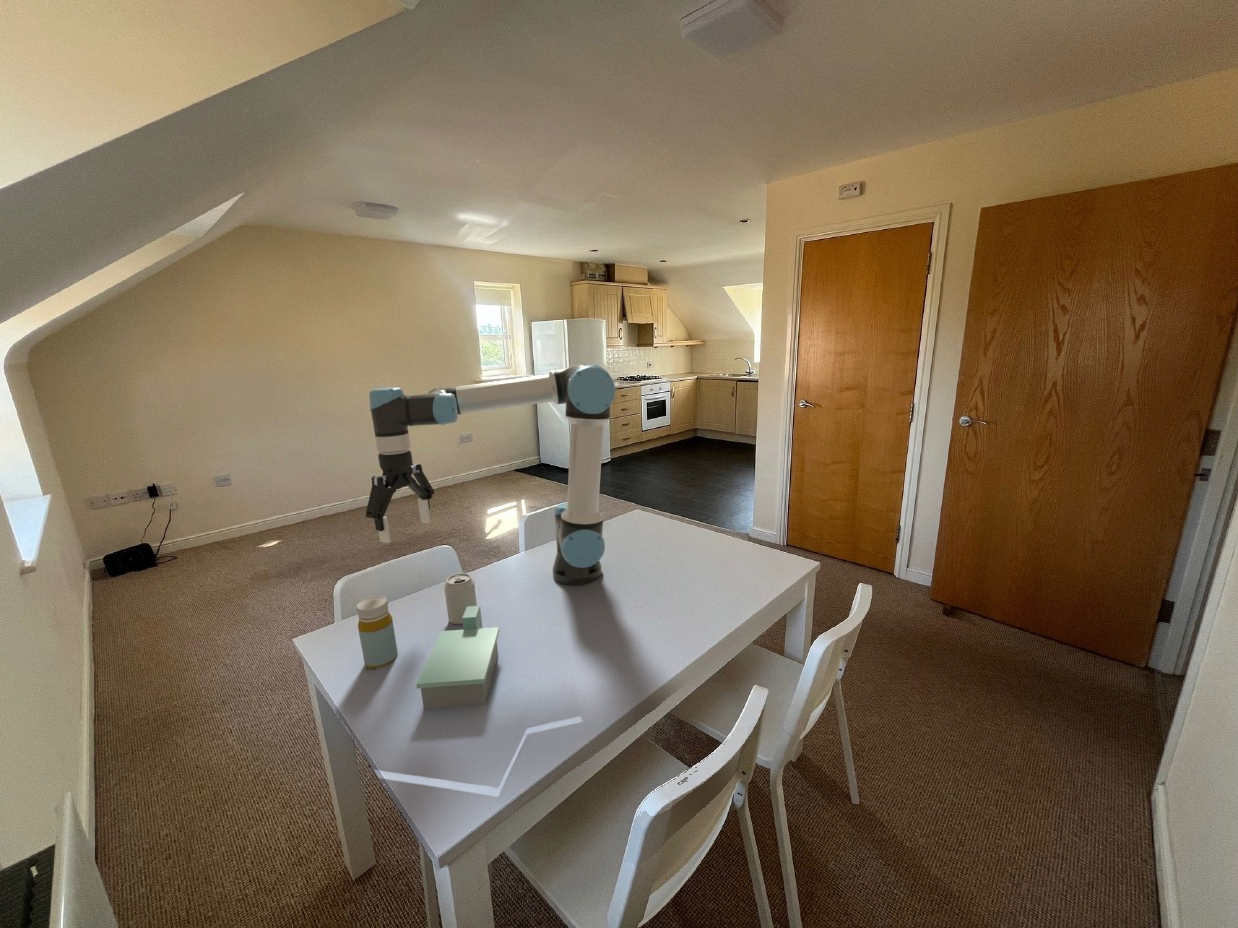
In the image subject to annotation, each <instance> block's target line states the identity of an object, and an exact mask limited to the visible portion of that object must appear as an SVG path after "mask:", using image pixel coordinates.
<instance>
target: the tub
mask: <svg viewBox="0 0 1238 928" xmlns="http://www.w3.org/2000/svg"><path fill="white" fill-rule="evenodd" d="M498 649H499V648H498V641H496V645H495V648H494V652H493V655H492V659H491V663H490V666H489V670H488V673H487V677H486V681H485V683H481V684H468V685H455V686H442V687H429V688H420V693H421V701H422V708H423V710H431V709H443V708H454V707H456V708H457V707H469V706H480V705H486V703H487V701H488V699H487V698H488V694H489V691H490V688H491V683H492V679H493V676H494V672H495V668H496V665H497V661H498V657H499V650H498Z"/></svg>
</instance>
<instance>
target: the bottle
mask: <svg viewBox="0 0 1238 928" xmlns="http://www.w3.org/2000/svg"><path fill="white" fill-rule="evenodd" d="M356 612H357V616H358V623H357V628H358V634H359V640H360V646H361V651H362V652H361V653H362V657H363V658H362V659H363V663H364V666H365V667H366V668H368V669H370V670H374V671H375V670H376V669H378V668H382V667H386V666H387V665H390V664H392V663H393V662H394V661H395V660H396V659H397V658H398V656H399V655H398V645H397V640H396V635H395V633H396V632H395V628H394V622H393V616H392V615H391V613H390V610H389V603H388V598H387V597H386V596H382V595H377V596H376V595H375V596H370V597H367V598H364V599H363V600H361V601H359V603H357V605H356Z"/></svg>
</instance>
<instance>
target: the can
mask: <svg viewBox="0 0 1238 928" xmlns="http://www.w3.org/2000/svg"><path fill="white" fill-rule="evenodd" d="M443 588H444V595H445V596H444V597H445V603H446V612H447V619H448V622H450V623H451V624H453V625H455V626H463V619H462V618H463V615H464V613H465V610H466V608H467V606H478V604H477V594H476V586H475V580H474V579H473V578H472V576H471V574H470V573H467V572H459V573H455V574H452V575H450V576H449V577H447V578H446V580H445V584H444V587H443Z"/></svg>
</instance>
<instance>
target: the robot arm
mask: <svg viewBox="0 0 1238 928" xmlns="http://www.w3.org/2000/svg"><path fill="white" fill-rule="evenodd" d="M615 387H616V386H615V383H614V380H613V378H612V376H611V375H610V373H609V372H608V371H607V370H606V369H604V368H603V367H602V366H599V365H596V364H591V363H579V364H574V365H571V366H567V367H565V368H564V367H563V368H559V369H553V370H551V371H549V373H548V374H544V375H536V376H528V377H527V376H526V377H520V378H513V379H506V380H505V379H504V380H496V381H490V382H482V383H476V384H469V385H468V384H467V385H460V386H453V387H445V388H443V387H438V388H434V389H432V390H430V391H429V392H427V393H424V394H423V393H422V394H413V395H411V394H410V395H408V394H404V391H403V389H402V388H401V387H397V386H396V387H393V386H391V387H390V386H389V387H377V388H374V389H372V390H370V391H369V393H368V394H369V395H368V396H369V406H370V407H369V410H370V413H371V419H372V425H373V431H374V436H375V438H374V439H375V443H376V450H377V452H378V456H377V458H378V463H379V468H380V469H381V470H382V475H381V476H376V475H373V476H371V489H370V495H369V498H368V503H367V507H366V510H365V517H366V518H367V519H373V522H374V525H375V530H376V532H377V531H378V537H379V542H380V543H384V544H385V543H386V544H389V543H392V542H391V533H390V527H389V522H388V517H387V516H385V514H386V513H387V509H388V508H389V505H390V502H391V500H392V499H393V496H394V494H396V492H397V490H400V489H402V488H406V487H408V488H409V489H410V490H411V491H412V492H414V494H416V496H418V498H419V499H417V505H418V511H419V517H420V518H419V519H420V523H422V524H431V523H432V522H431V515H430V509H431V504H430V500H431V499H432V498H433V495H435V490H434V489H433V486H432V484H431V483H430V482H429V480H428V478H427V476H426V475H425V473H424V472H423V471H424V470H423V467H422V464H420V463H419V464H418V463H413V461H414V460H413V456H412V450H410V449H411V448H412V447H411V441H410V436H409V435H410V434H409V427H415V426H432V425H433V426H434V425H435V426H436V425H443V426H444V425H448V424H454V423H456V422H457V421H458V417H459V415H465V414H472V413H480V412H481V413H482V412H485V411H495V410H501V409H507V408H516V407H523V406H530V405H537V404H544V403H551V402H552V403H554V404H556V405H564V404H565V413H564V414H565V418H567V420H568V421H569V423H570V431H569V432H570V433H569V434H570V435H569V455H568V456H569V459H568V460H569V461H568V478H567V479H568V480H567V481H568V482H567V499H566V500H567V502H564V503H560V504H557V505H556V506H555V508H554V514H553V516H554V523H555V537H556V556H555V559H554V563H553V566H552V578H553V579H554V580H555V581H556V582H558V583H560V584H564V585H567V586H568V585H569V586H579V585H586V584H590V583H592V582H594V581H596V580H598V579H599V578H600V577H601V575H602V563H601V561H600V560H601V559H602V557H603V556H604V553H605V550H606V548H605V547H606V544H605V543H606V542H605V540H604V537H603V529H604V528H603V527H604V515H603V513H601V512H600V511H599V502H600V485H601V473H602V472H601V471H602V470H601V469H602V458H603V457H602V455H603V439H604V438H603V437H604V424H606V423H607V422H608V421H609V420H610V418H611V417H610V416H611V405H612V404H613V401H614V399H615V396H616V395H615V394H616V388H615Z"/></svg>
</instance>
